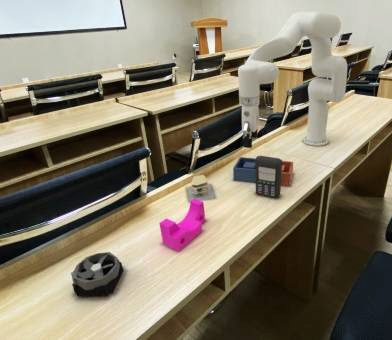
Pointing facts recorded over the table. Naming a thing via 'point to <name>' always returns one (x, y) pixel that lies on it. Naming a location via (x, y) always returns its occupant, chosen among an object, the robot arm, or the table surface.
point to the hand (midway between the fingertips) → (250, 142)
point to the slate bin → (244, 171)
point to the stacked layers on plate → (200, 189)
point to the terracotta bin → (287, 173)
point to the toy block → (183, 227)
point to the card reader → (268, 176)
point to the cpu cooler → (97, 275)
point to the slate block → (249, 165)
